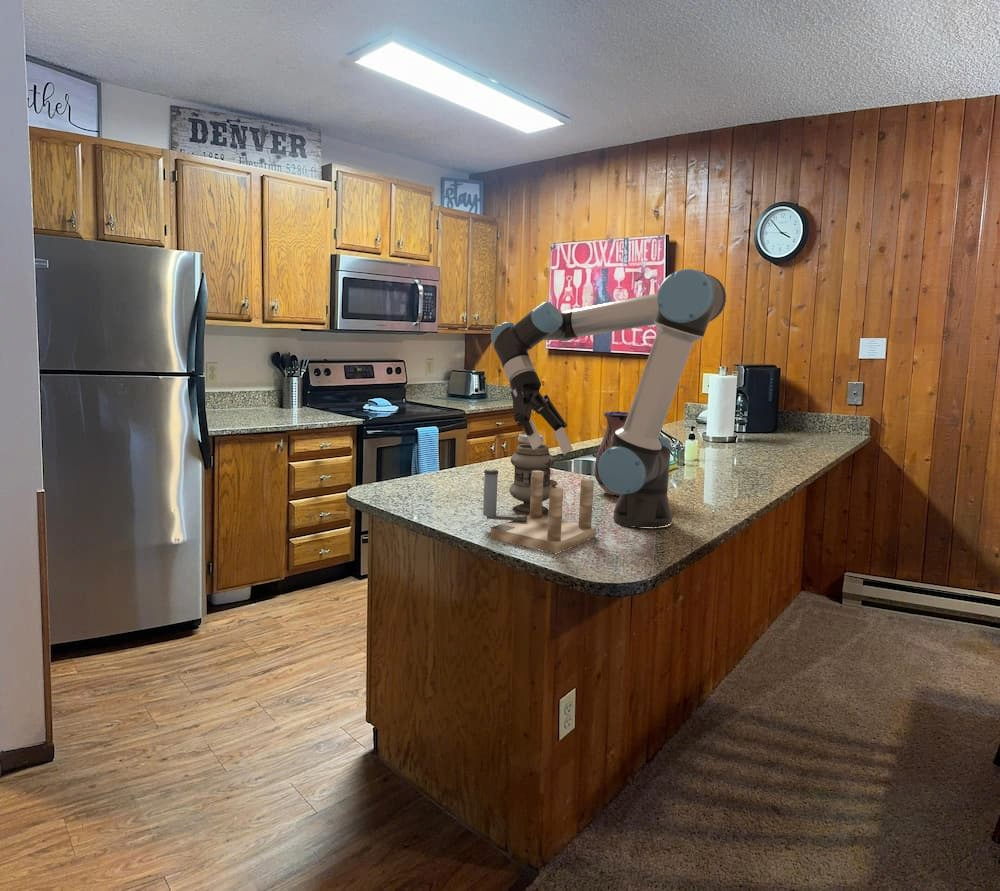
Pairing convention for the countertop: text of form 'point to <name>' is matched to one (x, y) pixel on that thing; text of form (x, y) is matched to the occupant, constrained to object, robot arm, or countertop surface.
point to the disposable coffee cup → (526, 439)
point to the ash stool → (550, 520)
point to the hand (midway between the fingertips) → (553, 449)
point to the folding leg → (494, 498)
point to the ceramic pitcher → (609, 441)
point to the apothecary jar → (524, 466)
